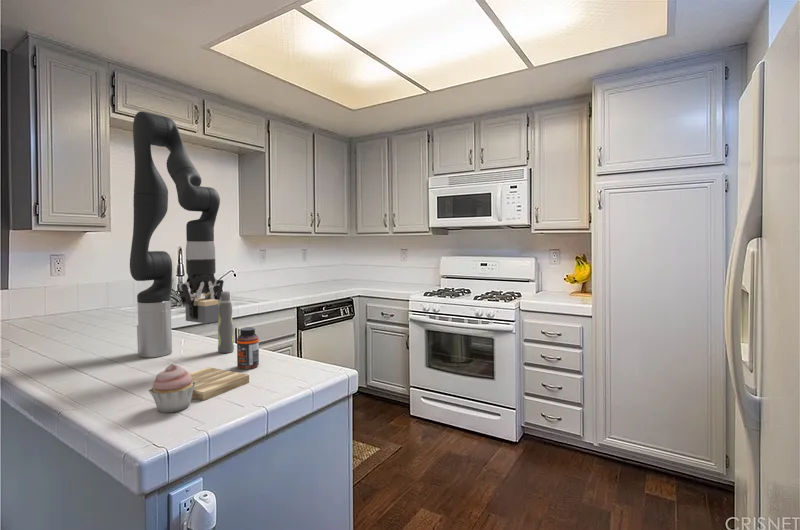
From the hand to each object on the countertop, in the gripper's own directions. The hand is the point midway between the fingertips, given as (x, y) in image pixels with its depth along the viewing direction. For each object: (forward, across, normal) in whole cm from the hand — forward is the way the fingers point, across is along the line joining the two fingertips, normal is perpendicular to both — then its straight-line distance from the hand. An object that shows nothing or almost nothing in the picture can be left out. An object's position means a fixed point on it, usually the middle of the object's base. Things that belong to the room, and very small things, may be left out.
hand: (202, 317), depth 121 cm
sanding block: (+1, 0, 0) cm, 1 cm away
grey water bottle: (+15, -16, -9) cm, 24 cm away
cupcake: (+15, +23, +18) cm, 33 cm away
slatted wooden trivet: (+15, +10, +13) cm, 22 cm away
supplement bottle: (+15, -7, +10) cm, 20 cm away
